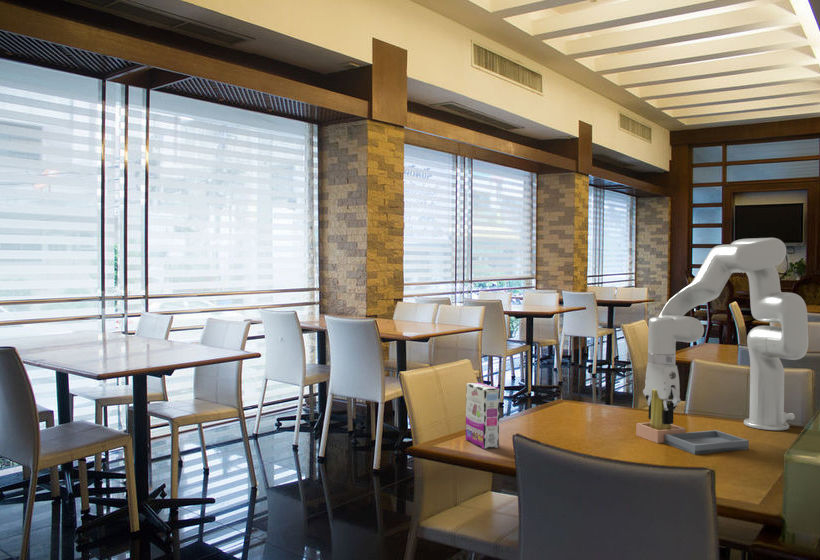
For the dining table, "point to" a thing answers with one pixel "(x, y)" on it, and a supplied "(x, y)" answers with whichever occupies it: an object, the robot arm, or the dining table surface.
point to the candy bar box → (482, 415)
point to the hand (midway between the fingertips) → (660, 420)
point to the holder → (656, 432)
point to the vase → (657, 412)
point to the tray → (706, 442)
